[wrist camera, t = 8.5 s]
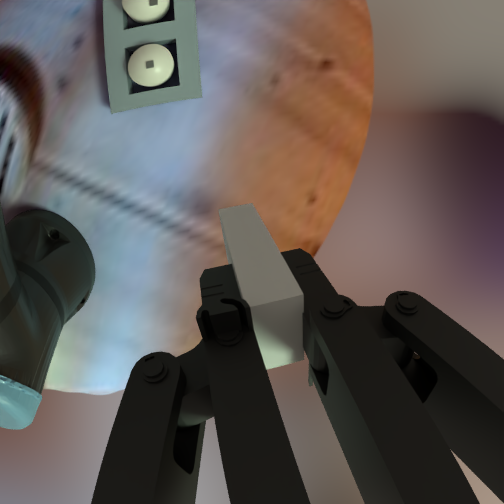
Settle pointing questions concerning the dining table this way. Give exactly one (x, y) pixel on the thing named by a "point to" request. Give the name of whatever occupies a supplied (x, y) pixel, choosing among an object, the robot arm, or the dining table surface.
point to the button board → (126, 40)
